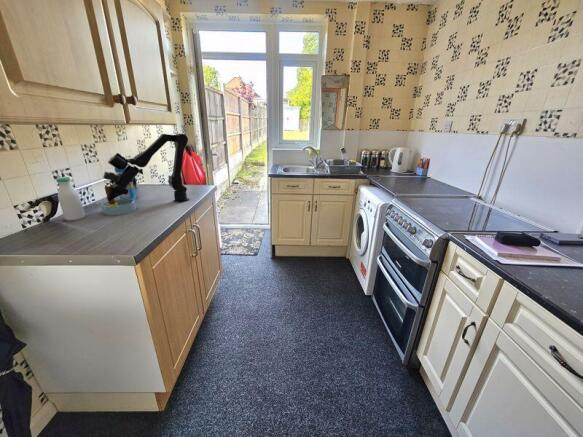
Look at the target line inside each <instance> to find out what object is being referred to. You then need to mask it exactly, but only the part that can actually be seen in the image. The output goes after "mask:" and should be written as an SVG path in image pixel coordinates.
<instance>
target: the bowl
mask: <svg viewBox="0 0 583 437" xmlns="http://www.w3.org/2000/svg"><path fill="white" fill-rule="evenodd" d="M114 200H115V203H117V204H118V206H107V204H109V203H108V200H107V201H104V202H102V203H101V204H100V207H101V210H102V214H103V215H106V216H119V215H124V214H130V213H132V212H134V211H136V210H137V205H136V204H137V203H136V199H120V198H117V199H116V198H115V199H114Z"/></svg>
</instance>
